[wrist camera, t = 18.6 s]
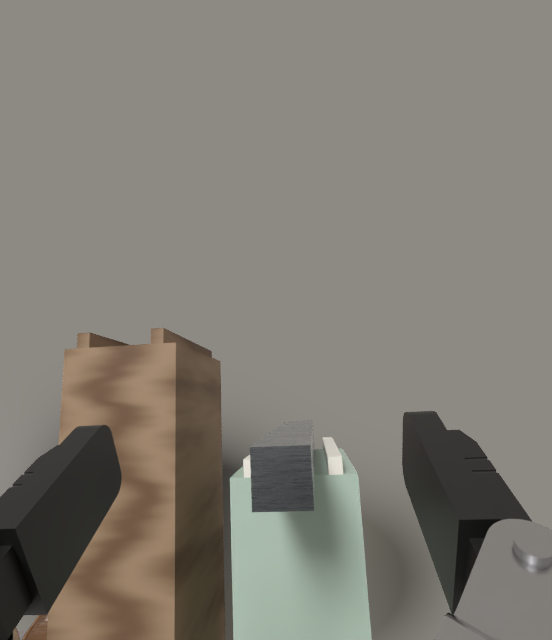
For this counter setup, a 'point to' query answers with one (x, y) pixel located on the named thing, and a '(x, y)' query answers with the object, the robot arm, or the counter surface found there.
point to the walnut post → (149, 493)
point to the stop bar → (283, 469)
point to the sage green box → (301, 559)
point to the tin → (37, 629)
